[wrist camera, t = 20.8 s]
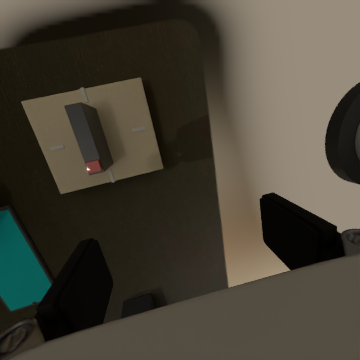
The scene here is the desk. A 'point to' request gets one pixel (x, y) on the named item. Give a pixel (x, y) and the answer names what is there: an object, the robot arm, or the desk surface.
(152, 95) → the desk surface
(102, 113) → the beige flat block
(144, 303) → the block
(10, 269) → the smartphone
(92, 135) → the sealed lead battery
